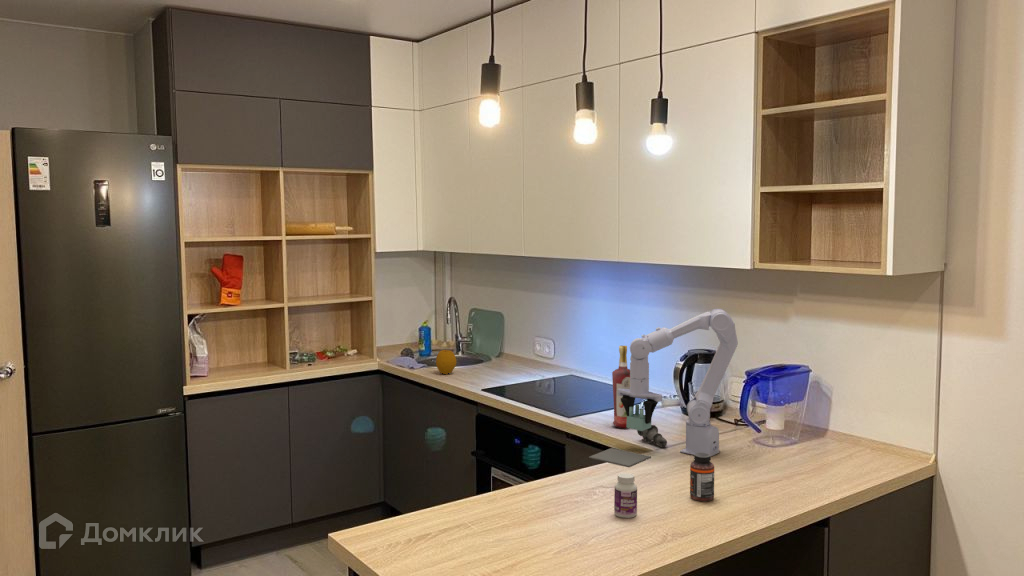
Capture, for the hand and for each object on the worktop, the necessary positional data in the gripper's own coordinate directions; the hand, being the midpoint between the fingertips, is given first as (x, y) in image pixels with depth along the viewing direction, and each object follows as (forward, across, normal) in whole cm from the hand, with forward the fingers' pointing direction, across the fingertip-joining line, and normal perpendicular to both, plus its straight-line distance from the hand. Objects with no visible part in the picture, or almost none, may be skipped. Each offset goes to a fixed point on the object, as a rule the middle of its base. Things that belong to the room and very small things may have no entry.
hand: (639, 421), depth 242 cm
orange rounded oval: (+9, +134, -54) cm, 145 cm away
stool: (+2, 0, 0) cm, 2 cm away
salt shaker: (+5, +5, -11) cm, 13 cm away
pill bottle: (+9, -25, +49) cm, 56 cm away
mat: (+9, 0, +11) cm, 14 cm away
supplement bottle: (+9, -34, +28) cm, 45 cm away
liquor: (+9, +18, -21) cm, 29 cm away
